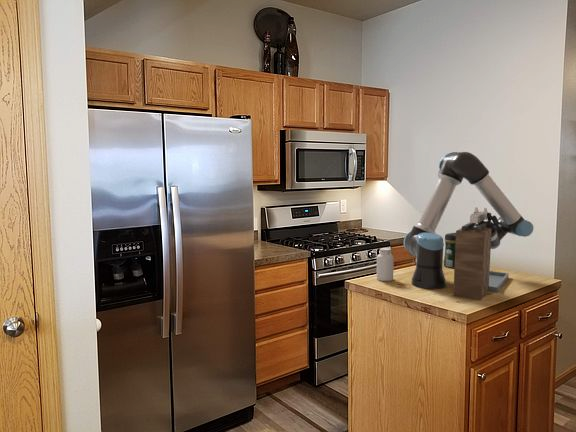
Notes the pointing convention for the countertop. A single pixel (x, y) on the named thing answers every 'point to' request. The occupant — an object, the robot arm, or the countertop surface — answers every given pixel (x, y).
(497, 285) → the slate tray
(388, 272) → the pill bottle
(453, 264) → the coffee jar
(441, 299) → the countertop surface
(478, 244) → the walnut stand
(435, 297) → the countertop surface
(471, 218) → the steel bar
